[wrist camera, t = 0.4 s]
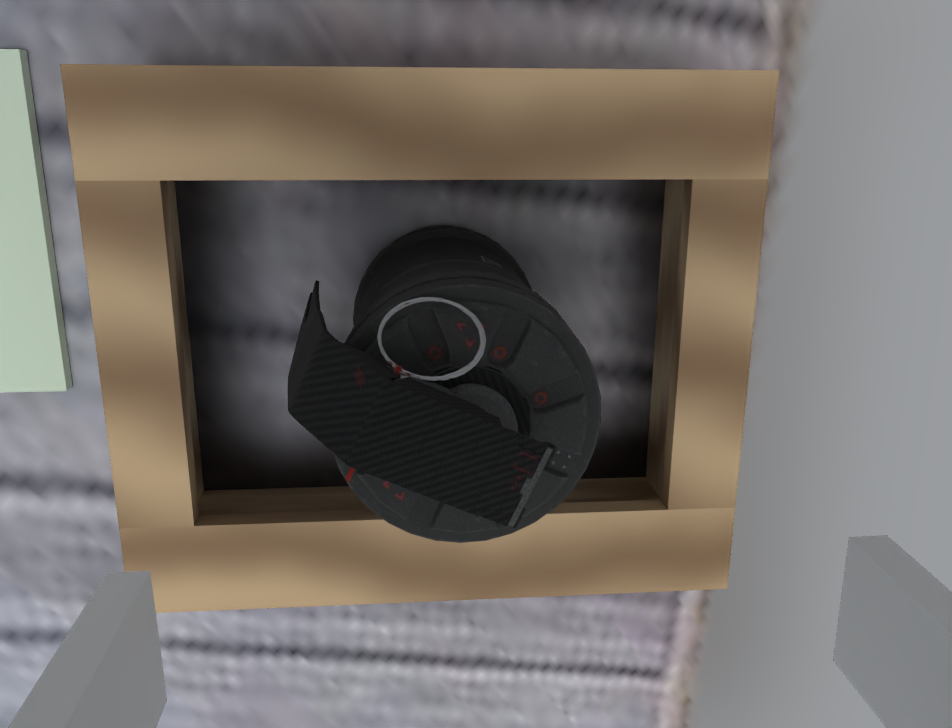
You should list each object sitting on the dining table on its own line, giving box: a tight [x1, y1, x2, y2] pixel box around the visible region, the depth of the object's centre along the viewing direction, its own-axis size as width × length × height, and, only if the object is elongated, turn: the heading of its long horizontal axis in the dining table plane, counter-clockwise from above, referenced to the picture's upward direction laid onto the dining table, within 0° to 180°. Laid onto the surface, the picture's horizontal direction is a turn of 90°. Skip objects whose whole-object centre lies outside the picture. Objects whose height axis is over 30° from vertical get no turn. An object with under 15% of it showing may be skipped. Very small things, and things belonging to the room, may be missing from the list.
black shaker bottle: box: [288, 226, 601, 543], centre depth 34 cm, size 9×11×20 cm
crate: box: [60, 64, 779, 613], centre depth 39 cm, size 22×26×10 cm
